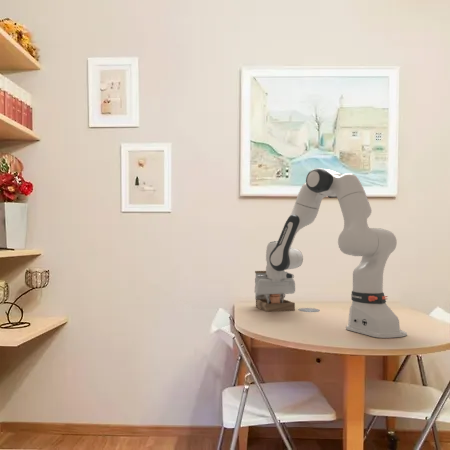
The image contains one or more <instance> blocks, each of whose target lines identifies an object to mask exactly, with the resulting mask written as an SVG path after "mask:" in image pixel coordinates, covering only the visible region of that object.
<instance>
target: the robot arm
mask: <svg viewBox="0 0 450 450" xmlns="http://www.w3.org/2000/svg"><path fill="white" fill-rule="evenodd" d="M300 187H301V188H300V190H299V192H298V194H297V197H296V199H295V202H294V206H293V209H292V210H291V213H290V215H289V217H287V220H286V221H285V223H284V225H283V227H282V230H281V233H280V235H279V237H278V240H276V241H275V240H274V241H270V242H268V243H267V246H266V249H265V250H266V252H265V253H266V254H265V261H266V267H265V271H266V275H258V276H256V275H255V278H254V283H255V284H254V293H256V294H257V295H265V298H266V300H267V303H268V304H271V300H269V298H268V297H269V294H281V296H282V297H281V299H280V303H283V299H285V298H286V295H287V294H288V295H289V294H291V295H292V294H295V292H296V282H295V280H294V277H295V275H294V273H290V272H289V271H287V270H293V269H297V268H300V267H301V266H302V264H303V262H304V261H303V260H304V256H303V253H302V252H301V251H300V250H299V249H298V248H294V247H292V245H293V242H294V240H295V238H296V235H297V234H298V233H299V231H300V230H302V229H304V228H305V227H307V226H309V225H311V224H313V223H314V221H315V220H316V218H317V216H318V213H319V209H320V207H321V203H322V201H323V199H324V198H326V197H327V198H330V199H333V198H334V199H335V198H336V199H337V201H338V204H339V206H340V210H341V213H342V217H343V230H342V231H341V232H340V234H339V235H338V239H337V244H338V248H339V249H340V250H339V251H341V252H342V253H343V254H345V255H347V256H352V257H361V260H360V263H359V265H357V266H356V267H355V268H354V269H353V271H352V290H351V294H350V295H351V299H350V300H351V301H352V303H351V304H350V306H349V313H348V321H347V325H346V327H345V330H348V331H351V332H354V333H358V334H362V335H365V336H369V337H373V338H377V339H378V338H380V339H382V338H383V339H387V338H388V339H389V338H390V339H393V338H402V337H406V336H407V335H408V334H407V331H405V330H401V329H400V319H399V317H398V316H397V315H396V314H395V312H394V311H393V310H392V309H391V307H389V305H388V304H387V303H386V302H387V298H388V297H389V296H388V295H387V296H386V295H385V292H383V291H384V285H383V284H384V271H385V267H386V264H387V261H388V259H389V257H390V255H391V254H392V253H393V252H394V251H395V250H396V247H397V240H398V239H397V237H396V235H395V234H394V232H393V231H390V230H387V229H384V228H376V227H369V224H368V219H369V217H371V215H372V207H371V205H370V201H369V200H368V196H367V194H366V191H365V189H364V187H363V185H362V182H360V180H359V178H358V176H357V175H355V174H353V173H349V172H348V173H344V174H343V173H340V172H337V171H334V170H332V169H326V168H324V167H323V168H322V167H316V168H313V169H312V168H311V170H310V171H309V172H308V174H307V175H306V178H305V182H304V183H303V184H302V186H300Z"/></svg>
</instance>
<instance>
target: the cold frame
mask: <svg viewBox="0 0 450 450" xmlns="http://www.w3.org/2000/svg"><path fill="white" fill-rule="evenodd" d="M254 273H255V277H256V276H258V275H266V270H255V271H254ZM254 293H255V292H254ZM281 297H282V296H281V294H280V299H281ZM268 298H269V300H270V294H269V297H268ZM295 307H296V304H295V302H293V301H290V300H288V299H285V298H284V299H283V303H274V304H268V303H267V300H266V298H265V295H257V294H256V293H255V308H257V309H260V310H262V311H265V312H266V313H270V312H271V313H273V312H290V311H293V312H294V311H295V310H296V308H295Z"/></svg>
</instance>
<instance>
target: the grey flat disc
mask: <svg viewBox="0 0 450 450" xmlns="http://www.w3.org/2000/svg"><path fill="white" fill-rule="evenodd" d="M298 311H299V312H304V313H319V312H320V311H321V310H320V309H318V308H312V307H300V308H298Z"/></svg>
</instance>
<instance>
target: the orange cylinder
mask: <svg viewBox="0 0 450 450" xmlns="http://www.w3.org/2000/svg"><path fill="white" fill-rule="evenodd" d="M270 300H271V304H274V303H280V294H270Z"/></svg>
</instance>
